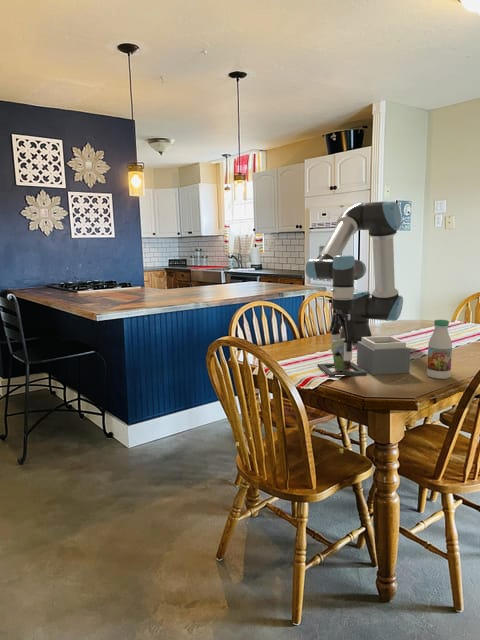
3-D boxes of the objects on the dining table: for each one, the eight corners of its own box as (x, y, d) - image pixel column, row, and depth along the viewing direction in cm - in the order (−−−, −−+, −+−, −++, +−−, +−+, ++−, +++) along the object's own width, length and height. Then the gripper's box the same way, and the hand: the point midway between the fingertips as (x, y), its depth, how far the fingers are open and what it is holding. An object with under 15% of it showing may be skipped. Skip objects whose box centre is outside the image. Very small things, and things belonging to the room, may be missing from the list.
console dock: (356, 364, 183) (357, 336, 181) (390, 362, 185) (392, 334, 183) (372, 375, 169) (373, 345, 167) (409, 373, 170) (410, 343, 169)
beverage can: (351, 373, 171) (352, 341, 169) (330, 372, 173) (331, 340, 170) (351, 368, 177) (351, 337, 175) (331, 367, 179) (331, 336, 177)
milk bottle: (422, 373, 170) (425, 318, 166) (443, 372, 170) (446, 318, 167) (433, 379, 162) (436, 322, 159) (454, 379, 163) (458, 322, 159)
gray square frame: (317, 366, 181) (317, 363, 181) (352, 364, 183) (352, 362, 182) (328, 376, 167) (328, 374, 167) (366, 374, 169) (366, 372, 169)
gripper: (322, 294, 182) (321, 348, 185) (344, 303, 157) (343, 364, 161) (340, 294, 183) (339, 347, 186) (366, 302, 158) (364, 363, 162)
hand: (341, 355), depth 174 cm, fingers open, 13 cm apart
